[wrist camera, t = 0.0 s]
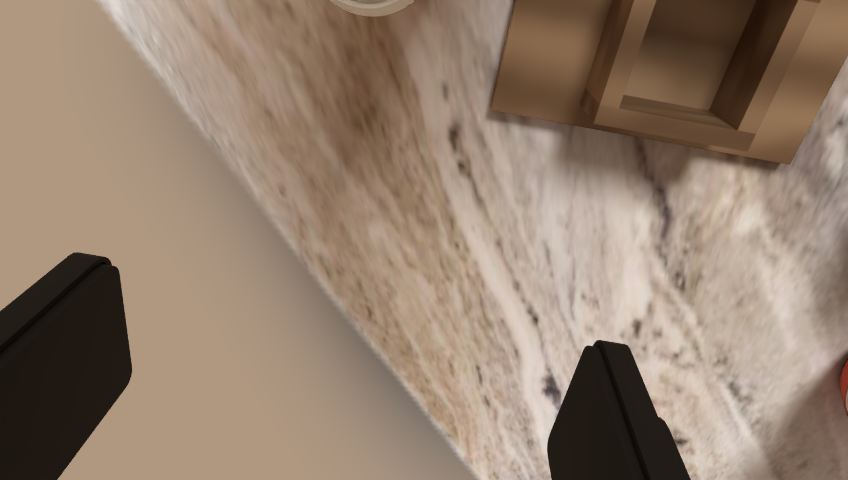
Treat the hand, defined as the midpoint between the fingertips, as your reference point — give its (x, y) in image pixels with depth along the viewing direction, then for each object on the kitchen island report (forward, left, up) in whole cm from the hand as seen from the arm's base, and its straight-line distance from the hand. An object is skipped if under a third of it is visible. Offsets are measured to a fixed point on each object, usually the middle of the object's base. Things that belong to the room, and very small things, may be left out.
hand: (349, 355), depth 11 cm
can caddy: (-4, +16, -31) cm, 35 cm away
